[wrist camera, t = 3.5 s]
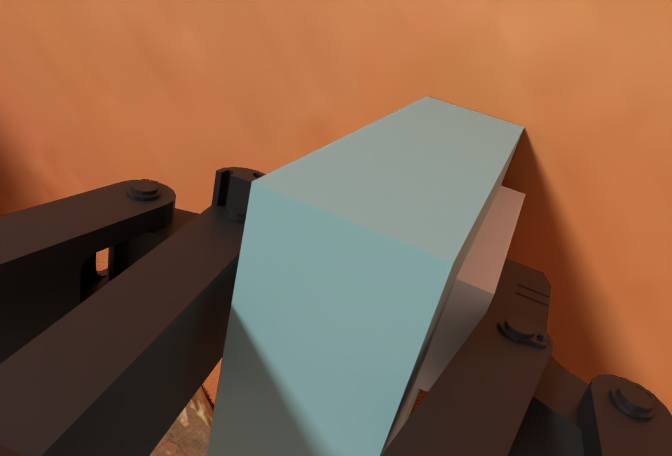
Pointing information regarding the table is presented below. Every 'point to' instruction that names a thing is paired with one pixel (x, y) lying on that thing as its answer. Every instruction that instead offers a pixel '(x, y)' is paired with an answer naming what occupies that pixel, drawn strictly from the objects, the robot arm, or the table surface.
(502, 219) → the robot arm
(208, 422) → the shard
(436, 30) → the table surface
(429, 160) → the teal board
